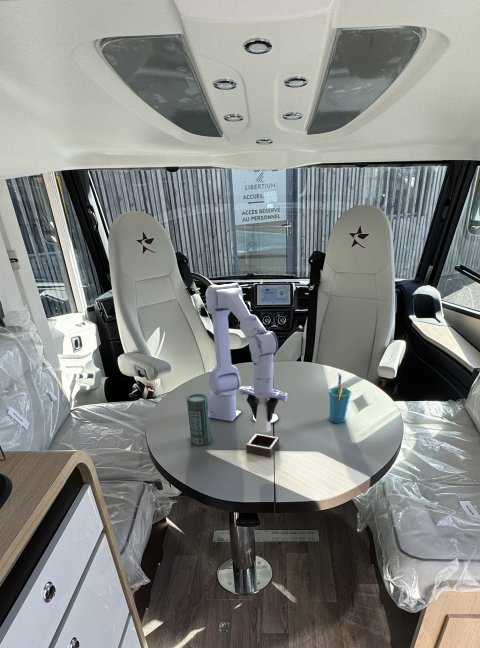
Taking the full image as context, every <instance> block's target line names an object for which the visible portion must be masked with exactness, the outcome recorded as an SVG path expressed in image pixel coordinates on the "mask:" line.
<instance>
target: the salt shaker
mask: <svg viewBox="0 0 480 648" xmlns="http://www.w3.org/2000/svg"><path fill="white" fill-rule="evenodd" d="M268 400H269V398H265V397H263V398H259V403H258V404H257V414H256V422H254V423H255V424H254V431H255V432H257V433H258V434H267V433H269V432H271V431H272V423H271V421H270V422H268V420H267V418H268V409H267V404H266V402H267V401H268Z"/></svg>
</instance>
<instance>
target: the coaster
mask: <svg viewBox="0 0 480 648" xmlns="http://www.w3.org/2000/svg"><path fill="white" fill-rule="evenodd" d="M252 420H253V421H254V423H256V419H254V415H252ZM278 420H279V416H278V415H277V414H276V413H273V416H272V420H271V424H274V423H276V422H277V421H278Z"/></svg>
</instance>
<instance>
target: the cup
mask: <svg viewBox="0 0 480 648" xmlns="http://www.w3.org/2000/svg"><path fill="white" fill-rule="evenodd" d="M337 376H338V383H337V384H338V386H337V387H332V388H331V389H329V391H328V395H329V421H330V422H331V423H334V424H342V423H344V422H345V420H346V416H347V411H348V406H349V402H350V398H351V395H352V391H351V390H350V389H348V388H345V387H343V385H342V375H341V373H340V372H338V373H337Z"/></svg>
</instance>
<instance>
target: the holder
mask: <svg viewBox="0 0 480 648" xmlns="http://www.w3.org/2000/svg"><path fill="white" fill-rule="evenodd" d="M257 444H261V445H257ZM262 445H266V446H262ZM245 446H246V449H245V450H246V454H250V455H255V456H260V457H265V458H271V457H272V456H273V455H274V454H275V452H276V451H277V449H278V448H279V446H280V437H278V436H274V435H273V436H272V435H266V434H263V433H255V434H254V435H253V436H252V437H251V439H249V441H248V442H247V443H246V445H245ZM267 446H269V447H267Z"/></svg>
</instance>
